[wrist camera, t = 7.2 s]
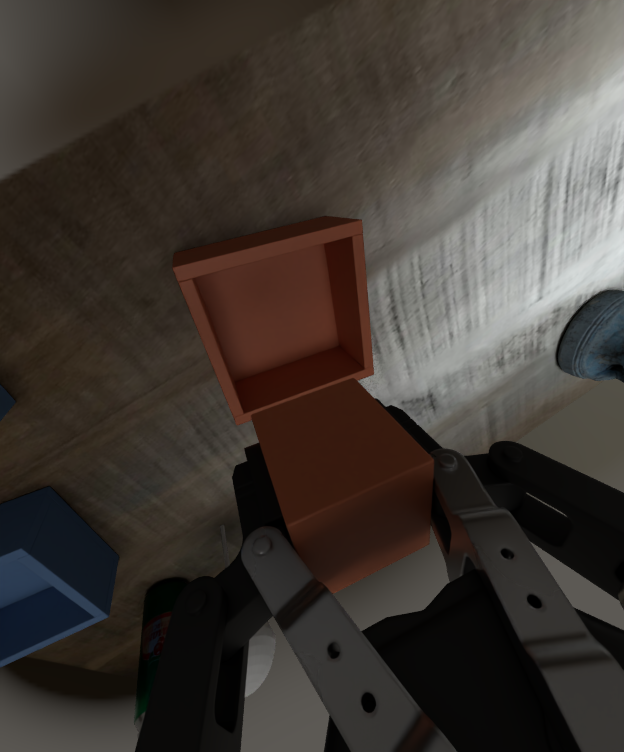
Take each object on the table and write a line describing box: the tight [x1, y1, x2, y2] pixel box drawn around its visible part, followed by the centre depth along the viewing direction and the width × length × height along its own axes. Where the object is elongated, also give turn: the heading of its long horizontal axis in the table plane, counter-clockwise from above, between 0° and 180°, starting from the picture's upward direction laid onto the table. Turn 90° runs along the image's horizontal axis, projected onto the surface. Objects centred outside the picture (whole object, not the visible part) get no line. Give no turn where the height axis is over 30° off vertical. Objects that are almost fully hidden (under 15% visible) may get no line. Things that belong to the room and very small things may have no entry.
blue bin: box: [0, 487, 119, 667], centre depth 26 cm, size 12×12×6 cm
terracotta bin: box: [172, 216, 374, 425], centre depth 24 cm, size 12×12×6 cm
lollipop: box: [220, 525, 276, 697], centre depth 30 cm, size 6×6×15 cm
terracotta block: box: [251, 378, 434, 594], centre depth 11 cm, size 4×4×5 cm
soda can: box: [134, 580, 187, 738], centre depth 33 cm, size 5×5×12 cm
